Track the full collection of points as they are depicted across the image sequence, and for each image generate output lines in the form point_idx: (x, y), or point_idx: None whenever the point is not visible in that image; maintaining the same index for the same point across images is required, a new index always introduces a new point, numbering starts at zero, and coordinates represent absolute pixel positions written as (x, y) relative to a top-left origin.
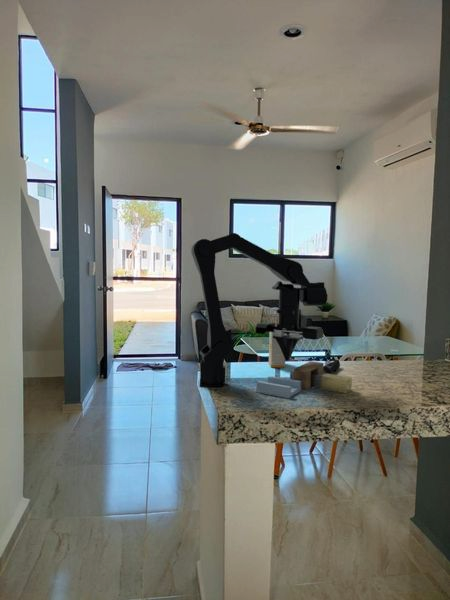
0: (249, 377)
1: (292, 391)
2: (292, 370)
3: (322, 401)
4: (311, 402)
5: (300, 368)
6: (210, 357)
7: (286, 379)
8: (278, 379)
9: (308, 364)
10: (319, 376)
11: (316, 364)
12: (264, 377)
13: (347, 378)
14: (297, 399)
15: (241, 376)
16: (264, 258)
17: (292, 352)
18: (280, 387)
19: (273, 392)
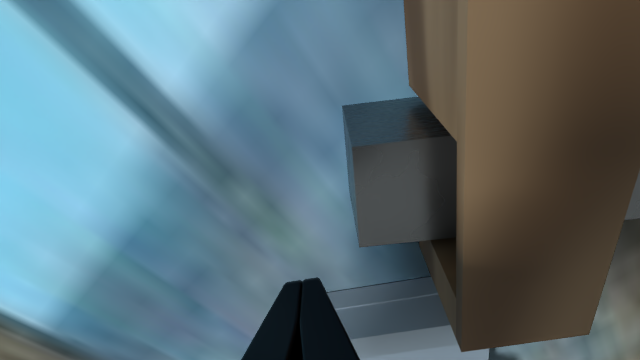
0: (81, 263)
1: (485, 354)
2: (357, 215)
3: (628, 317)
4: (583, 349)
5: (505, 322)
6: None
7: (418, 341)
8: (372, 352)
9: (521, 147)
10: (637, 217)
11: (623, 66)
12: (130, 201)
13: None
14: (517, 355)
15: (35, 277)
16: None
17: (356, 353)
18: None
19: None
